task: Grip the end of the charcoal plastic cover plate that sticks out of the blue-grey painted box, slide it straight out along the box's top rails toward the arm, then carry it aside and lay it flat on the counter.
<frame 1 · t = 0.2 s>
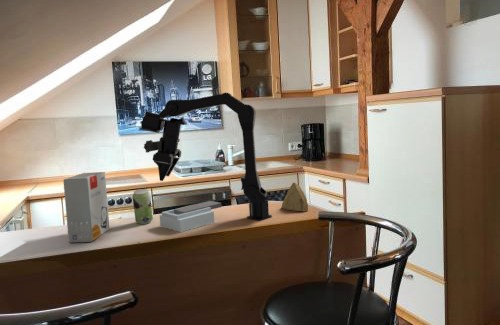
hand: (164, 178, 149), 15 cm above the countertop, tool pointing down, fingers open, 9 cm apart
beverage can: (144, 223, 148), on the countertop
cover plate: (198, 210, 146), point 4 cm above the countertop, touching lidded box
hard drive box: (90, 236, 135), on the countertop
rock: (294, 210, 156), on the countertop
lidded box: (187, 224, 143), on the countertop
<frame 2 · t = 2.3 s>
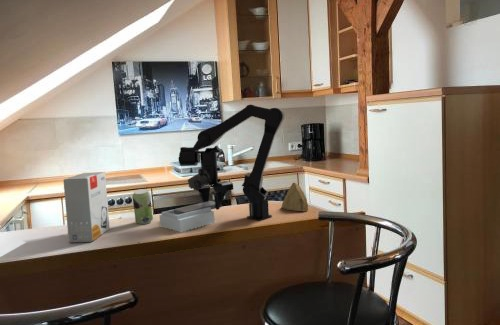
hand: (211, 208, 150), 4 cm above the countertop, tool pointing down, fingers closed on cover plate, 6 cm apart
cover plate: (198, 210, 146), point 4 cm above the countertop, touching gripper, lidded box
everything else where it was.
when the fingers open (1 cm above the countertop, at t = 10.0 s): cover plate drops 2 cm, on the countertop.
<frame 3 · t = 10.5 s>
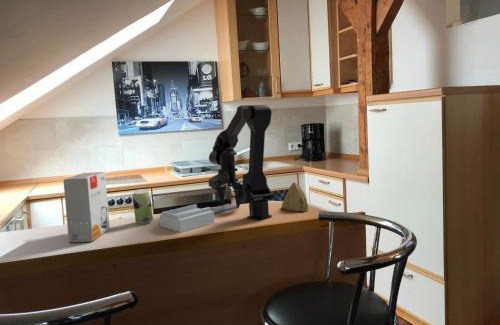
hand: (230, 205, 164), 1 cm above the countertop, tool pointing down, fingers open, 9 cm apart
cover plate: (218, 212, 160), on the countertop
everything else where it was.
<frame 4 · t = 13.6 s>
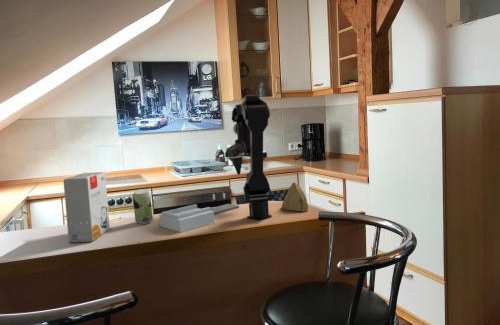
hand: (246, 175, 167), 12 cm above the countertop, tool pointing down, fingers open, 9 cm apart
nothing on the countertop moved.
at the end: cover plate inside the target area (0.5 cm from its centre), on the countertop; cover plate tilted 0°; the gripper is holding nothing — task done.
